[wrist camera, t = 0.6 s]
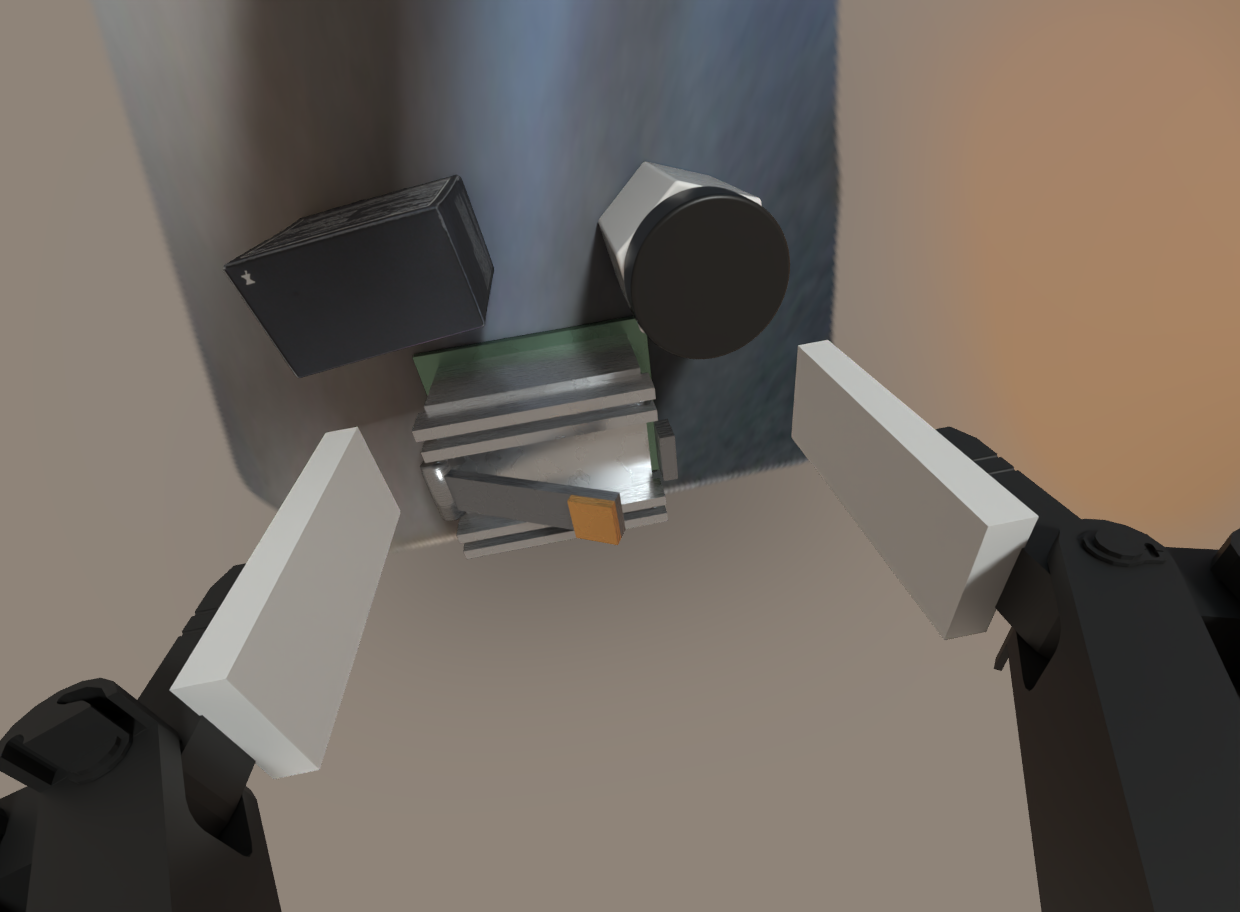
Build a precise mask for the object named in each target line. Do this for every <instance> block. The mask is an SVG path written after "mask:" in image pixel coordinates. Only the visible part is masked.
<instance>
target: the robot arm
mask: <svg viewBox="0 0 1240 912" xmlns="http://www.w3.org/2000/svg"><path fill="white" fill-rule="evenodd" d="M792 438H793V440H794V441H795V442H796V444H797V445H798V446H799V448H800V449H801V450H802V452H803V453H804V454H805V456H806V457H807V458H808V460H809V461H810V462H811V464H812V465H813V466H814V468H815V469H816V470H817V472H818V473H819V474H820V475H821V477H822V478H823V479H824V481H825V482H826V484H827V485H828V486H829V487H830V489H831V490H832V491H833V493H834V494H835V496H836V497H837V498H838V499H839V501H840V502H841V504H842V505H843V506H844V507H845V509H846V510H847V512H848V513H849V514H850V515H851V517H852V518H853V519H854V521H855V522H856V523H857V525H858V526H859V527H860V529H861V530H862V531H863V533H864V534H865V535H866V537H867V538H868V539H869V541H870V542H871V543H872V545H873V546H874V547H875V549H876V550H877V551H878V553H879V554H880V555H881V557H882V558H883V559H884V561H885V562H886V563H887V565H888V566H889V567H890V569H891V570H892V571H893V573H894V574H895V575H896V577H897V578H898V579H899V581H900V582H901V583H902V585H903V586H904V587H905V589H906V590H907V591H908V592H909V594H910V595H911V597H912V598H913V599H914V600H915V602H916V603H917V605H918V606H919V607H920V609H921V610H922V611H923V612H924V614H925V615H926V617H927V618H928V619H929V620H930V622H931V623H932V625H934V627H935V628H936V630H937V631H938V632H939V634H940V635H941V636H942V638H943V639H944V640H948V639H953V638H958V637H962V636H967V635H972V634H977V633H982V632H986V631H987V629H988V627H989V624H990V622H991V620H992V618H993V616H994V613H995V611H996V609H997V610H998V611H999V612H1000V614H1001V615H1002V616H1003V617H1004V618H1005V619H1006V620H1007V621H1008V623H1009V624H1010V625H1011V626H1012V627H1011V629H1010V631H1009V633H1008V635H1007V637H1006V639H1005V641H1004V643H1003V645H1002V647H1001V649H1000V651H999V653H998V655H997V657H996V660H995V666H994V669H997V670H1000V671H1002V669H1003V667H1004V665H1005V663H1006V661H1007V659H1008V658H1009V664H1010V671H1011V679H1012V687H1013V695H1014V702H1015V710H1016V718H1017V725H1018V732H1019V741H1020V749H1021V756H1022V764H1023V772H1024V779H1025V787H1026V794H1027V803H1028V810H1029V818H1030V826H1031V832H1032V841H1033V849H1034V856H1035V864H1036V872H1037V880H1038V887H1039V895H1040V902H1041V910H1042V912H1240V529H1238V530H1236V531H1234V532H1233V533H1232V534H1231V535H1230V536H1229V538H1228V539H1227V540H1226V542H1225V543H1224V544H1223V545H1222V547H1221V548H1220V549H1219V550H1213V549H1193V548H1172V547H1164V546H1162V545H1161V544H1159V543H1158V542H1157V541H1155V540H1154V539H1152V538H1151V537H1149V536H1148V535H1147V534H1144V533H1142V532H1140V531H1137V530H1135V529H1133V528H1131V527H1128V526H1126V525H1122V524H1118V523H1114V522H1110V521H1106V520H1096V519H1080V518H1079V517H1078V516H1076V515H1075V514H1074V513H1072V512H1071V511H1070V510H1069V509H1067V508H1066V507H1065V506H1063V505H1062V504H1061V503H1060V502H1058V501H1057V500H1056V499H1054V498H1053V497H1052V496H1051V495H1049V494H1048V493H1047V492H1045V491H1044V490H1043V489H1042V488H1040V487H1039V486H1038V485H1036V484H1035V483H1034V482H1033V481H1031V480H1030V479H1029V478H1027V477H1026V476H1025V475H1024V474H1022V473H1021V472H1020V471H1018V470H1017V471H1015V470H1014V467H1013V466H1012V465H1011V464H1009V463H1008V462H1007V461H1006V460H1004V459H1003V458H1001V457H999V458H998V457H997V453H995V452H994V451H993V450H991V449H990V448H989V447H988V446H986V445H985V444H983V443H982V442H981V441H980V440H978V439H977V438H975V437H973V436H971V435H968V434H966V433H964V432H961V431H959V430H957V429H954V428H952V427H945V428H939V429H934V428H933V427H931V426H930V425H929V424H928V423H927V422H925V421H924V420H923V419H922V418H921V417H919V416H918V415H917V414H916V413H915V412H913V411H912V410H911V409H910V408H909V407H907V406H906V405H905V404H904V403H903V402H902V401H900V400H899V399H898V398H897V397H896V396H894V395H893V394H892V393H891V392H890V391H888V390H887V389H886V388H885V387H883V386H882V385H881V384H880V383H879V382H877V381H876V380H875V379H874V378H873V377H872V376H870V375H869V374H868V373H867V372H866V371H864V370H863V369H862V368H861V367H860V366H858V365H857V364H856V363H855V362H854V361H853V360H851V359H850V358H849V357H848V356H846V355H845V354H844V353H843V352H842V351H841V350H839V349H838V348H837V347H836V346H835V345H833V344H832V343H831V342H830V341H829V340H825V341H820V342H814V343H809V344H804V345H798V354H797V368H796V382H795V396H794V409H793V423H792ZM400 512H401V511H400V509H399V507H398V505H397V503H396V501H395V499H394V497H393V495H392V493H391V491H390V489H389V488H388V486H387V484H386V482H385V480H384V478H383V476H382V474H381V472H380V470H379V468H378V466H377V464H376V462H375V460H374V458H373V456H372V454H371V452H370V450H369V448H368V446H367V444H366V442H365V440H364V438H363V436H362V434H361V432H360V430H359V428H358V427H354V428H348V429H343V430H338V431H332V432H327V433H325V435H324V436H323V438H322V440H321V441H320V443H319V445H318V446H317V448H316V450H315V451H314V453H313V455H312V456H311V458H310V459H309V461H308V463H307V464H306V466H305V468H304V469H303V471H302V473H301V474H300V476H299V478H298V479H297V481H296V482H295V484H294V486H293V487H292V489H291V491H290V492H289V494H288V496H287V497H286V499H285V501H284V502H283V504H282V506H281V507H280V509H279V510H278V512H277V514H276V516H275V517H274V519H273V520H272V522H271V524H270V525H269V527H268V529H267V530H266V532H265V533H264V535H263V537H262V538H261V540H260V542H259V543H258V545H257V547H256V548H255V550H254V552H253V553H252V555H251V557H250V558H249V560H248V562H247V563H246V564H241V565H236V566H233V567H232V568H231V569H230V570H229V571H228V572H227V573H226V574H225V575H224V576H223V577H222V578H220V579H219V580H218V581H217V582H216V583H215V584H214V585H213V586H212V587H211V588H210V589H209V591H208V592H207V594H206V596H205V597H204V598H203V600H202V602H201V603H200V605H199V606H198V608H197V609H196V611H195V616H192V617H191V618H190V620H189V621H188V623H187V625H186V626H185V628H184V629H183V631H182V633H183V635H182V636H180V637H178V638H177V640H176V642H175V643H174V645H173V646H172V648H171V649H170V651H169V652H168V654H167V655H166V657H165V658H164V660H163V661H162V663H161V665H160V666H159V668H158V669H157V671H156V672H155V674H154V675H153V677H152V678H151V680H150V681H149V683H148V684H147V686H146V688H145V689H144V691H143V692H142V694H141V695H140V697H139V698H138V700H136V699H135V698H134V697H133V696H131V695H130V694H129V693H127V692H126V691H125V690H124V689H122V688H121V687H120V686H118V685H117V684H116V683H115V682H114V681H110V680H107V679H103V678H97V679H92V680H86V681H82V682H79V683H77V684H75V685H72V686H70V687H68V688H65V689H63V690H61V691H59V692H57V693H56V694H54V695H52V696H51V697H49V698H48V699H46V700H45V701H43V702H41V703H40V704H38V705H37V706H35V707H34V708H33V709H32V710H30V712H28V713H27V714H26V715H25V716H23V718H21V719H20V720H19V721H18V722H16V723H15V724H14V725H13V726H12V727H11V728H10V730H9V731H8V732H7V733H6V734H5V736H4V737H3V738H2V739H1V740H0V771H1V772H3V773H5V774H7V775H8V776H10V777H12V778H14V779H16V780H18V781H19V782H21V783H23V784H25V785H27V787H25V788H23V789H21V790H19V791H16V792H14V793H12V794H10V795H8V796H5V797H3V798H1V799H0V912H281V907H280V903H279V899H278V894H277V889H276V885H275V880H274V876H273V871H272V867H271V862H270V858H269V853H268V849H267V844H266V840H265V835H264V831H263V826H262V821H261V817H260V812H259V808H258V803H257V799H256V798H255V796H254V794H253V793H252V791H251V790H250V789H249V788H247V787H246V783H247V781H248V778H249V776H250V773H251V771H252V769H253V766H254V764H257V765H258V766H259V767H260V768H261V769H262V770H264V771H265V772H266V773H267V774H268V775H270V776H271V777H272V778H273V779H277V778H282V777H287V776H291V775H296V774H300V773H306V772H311V771H315V770H320V767H321V764H322V760H323V757H324V754H325V751H326V748H327V745H328V741H329V738H330V735H331V732H332V729H333V725H334V722H335V719H336V716H337V713H338V710H339V706H340V703H341V700H342V697H343V694H344V690H345V687H346V684H347V681H348V678H349V674H350V671H351V668H352V665H353V662H354V659H355V656H356V652H357V649H358V646H359V643H360V640H361V636H362V633H363V630H364V627H365V624H366V621H367V617H368V614H369V611H370V607H371V605H372V601H373V598H374V595H375V592H376V589H377V586H378V582H379V579H380V576H381V573H382V570H383V566H384V563H385V560H386V557H387V554H388V551H389V547H390V544H391V541H392V538H393V535H394V531H395V528H396V525H397V522H398V519H399V516H400Z"/></svg>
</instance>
